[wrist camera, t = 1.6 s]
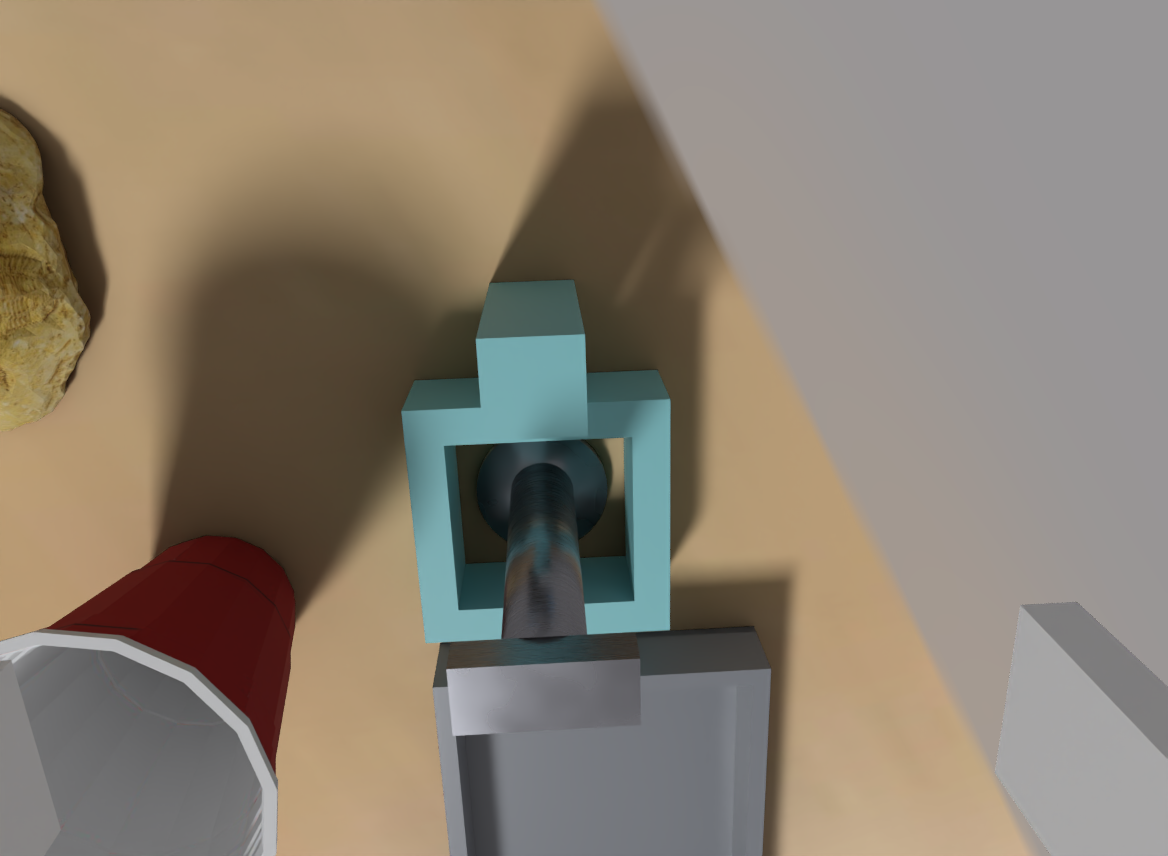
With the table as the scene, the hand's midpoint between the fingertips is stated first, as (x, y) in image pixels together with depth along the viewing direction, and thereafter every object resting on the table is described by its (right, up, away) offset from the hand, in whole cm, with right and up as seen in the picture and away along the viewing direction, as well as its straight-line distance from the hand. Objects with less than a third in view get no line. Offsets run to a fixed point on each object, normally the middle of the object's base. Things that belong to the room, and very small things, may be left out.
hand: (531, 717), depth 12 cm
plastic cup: (-14, -3, +24) cm, 28 cm away
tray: (+2, -12, +28) cm, 31 cm away
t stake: (-1, +2, +23) cm, 23 cm away
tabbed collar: (-1, +3, +22) cm, 23 cm away
